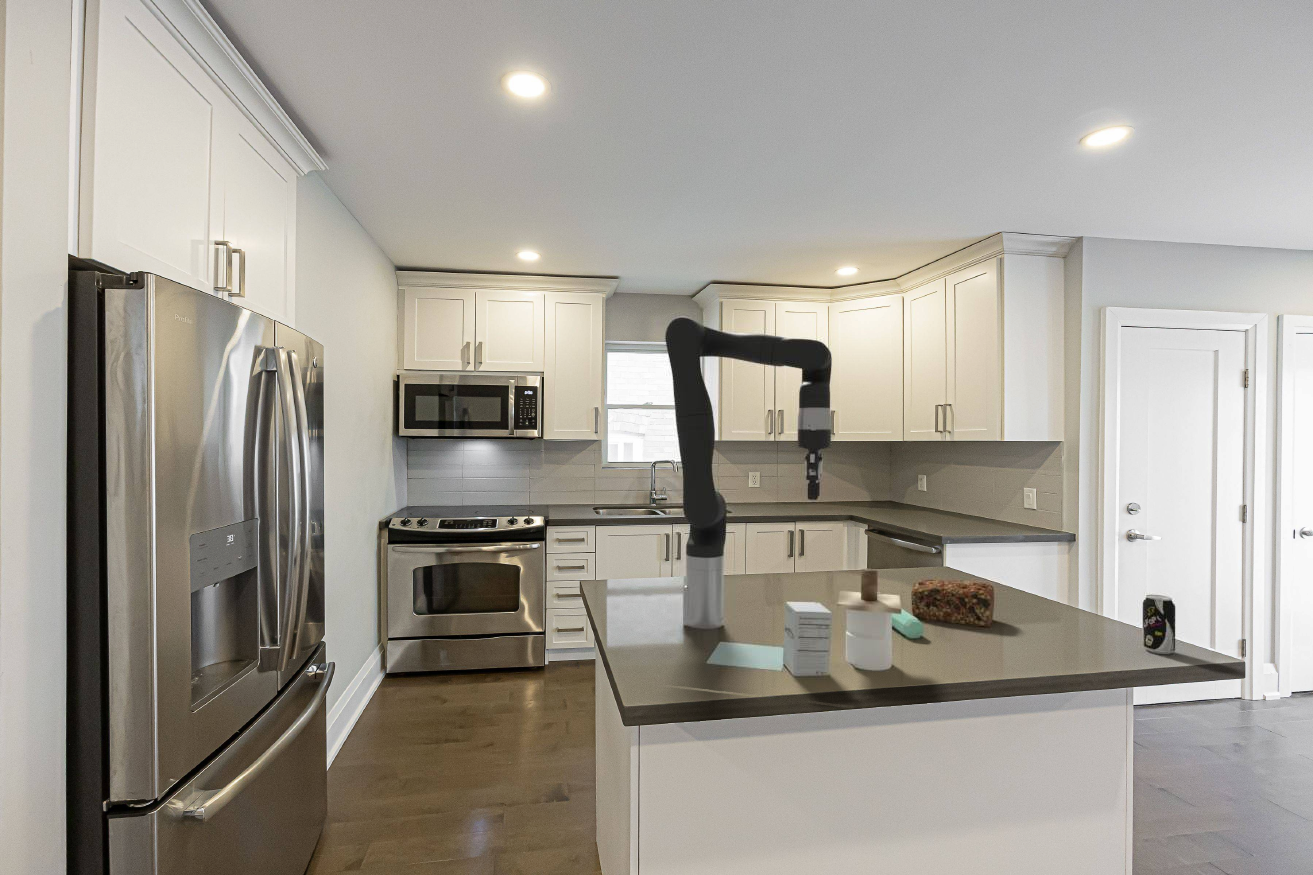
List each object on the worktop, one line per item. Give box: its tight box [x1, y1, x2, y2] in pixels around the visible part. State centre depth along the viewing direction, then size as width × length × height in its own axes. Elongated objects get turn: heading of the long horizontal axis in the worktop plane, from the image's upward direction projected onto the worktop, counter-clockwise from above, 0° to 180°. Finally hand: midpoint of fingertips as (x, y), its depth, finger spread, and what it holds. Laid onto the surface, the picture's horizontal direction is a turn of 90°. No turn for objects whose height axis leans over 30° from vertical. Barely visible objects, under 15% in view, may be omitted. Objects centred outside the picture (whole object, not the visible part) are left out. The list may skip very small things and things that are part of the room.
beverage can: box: [1141, 594, 1176, 655], centre depth 147 cm, size 6×6×12 cm
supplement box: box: [783, 601, 833, 677], centre depth 133 cm, size 7×7×13 cm
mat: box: [706, 641, 785, 672], centre depth 141 cm, size 15×15×1 cm
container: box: [877, 591, 924, 639], centre depth 167 cm, size 6×6×25 cm
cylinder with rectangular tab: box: [845, 609, 893, 671], centre depth 138 cm, size 9×9×12 cm
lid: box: [836, 568, 902, 614], centre depth 138 cm, size 12×12×7 cm
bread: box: [910, 578, 995, 628], centre depth 173 cm, size 19×11×10 cm, turn 57°
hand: (813, 498), depth 156 cm, fingers open, 8 cm apart
